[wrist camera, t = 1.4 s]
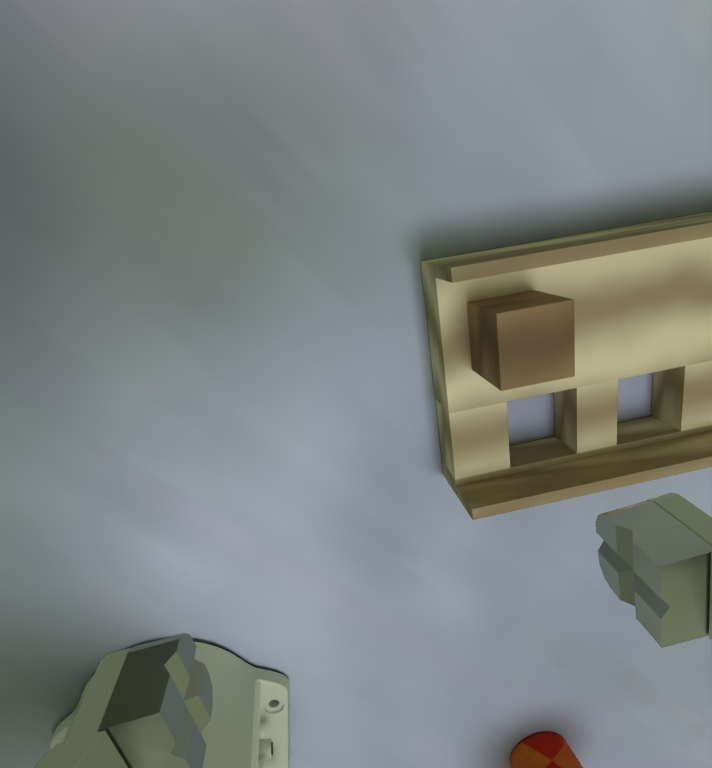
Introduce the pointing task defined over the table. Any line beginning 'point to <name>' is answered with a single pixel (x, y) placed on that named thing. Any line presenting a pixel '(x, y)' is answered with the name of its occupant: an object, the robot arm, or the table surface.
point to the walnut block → (522, 338)
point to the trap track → (580, 364)
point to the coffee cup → (544, 752)
